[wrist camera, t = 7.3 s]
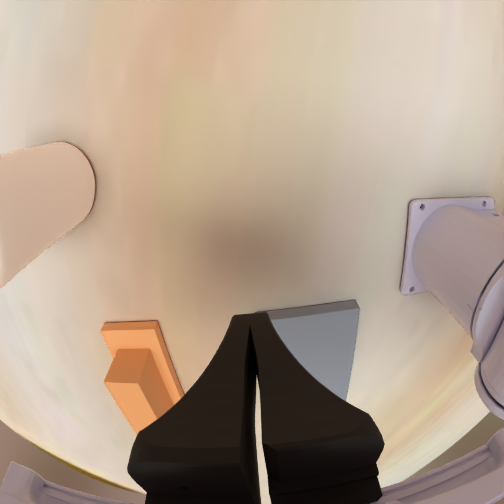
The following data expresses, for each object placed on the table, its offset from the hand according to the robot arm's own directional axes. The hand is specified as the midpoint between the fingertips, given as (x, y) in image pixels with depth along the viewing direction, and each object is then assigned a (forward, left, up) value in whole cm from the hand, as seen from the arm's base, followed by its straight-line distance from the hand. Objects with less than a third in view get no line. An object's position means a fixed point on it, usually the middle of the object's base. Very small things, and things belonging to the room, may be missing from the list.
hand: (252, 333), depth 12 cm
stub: (+10, +12, -10) cm, 19 cm away
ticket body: (-4, +12, -10) cm, 16 cm away
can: (+13, -6, -10) cm, 18 cm away
